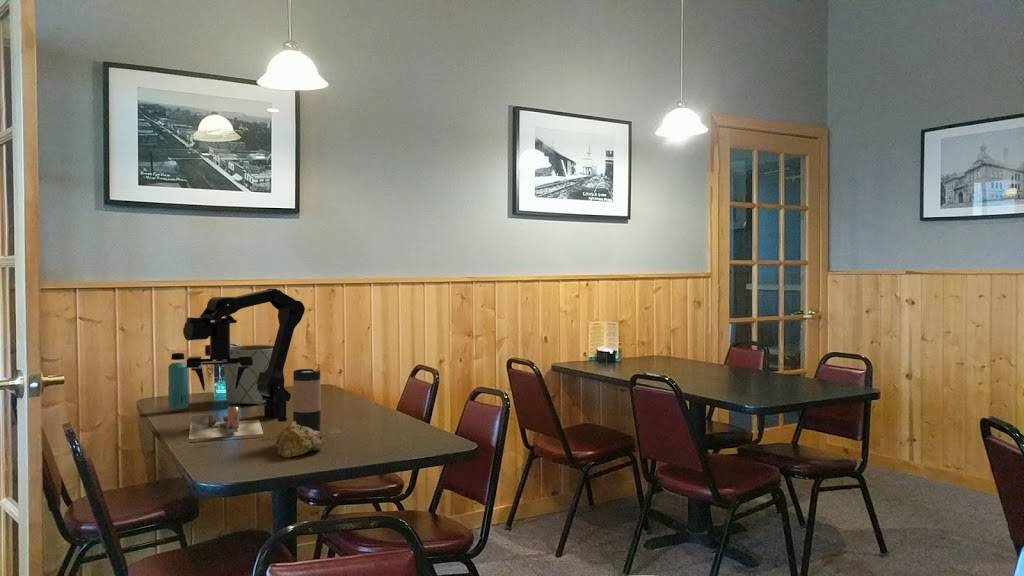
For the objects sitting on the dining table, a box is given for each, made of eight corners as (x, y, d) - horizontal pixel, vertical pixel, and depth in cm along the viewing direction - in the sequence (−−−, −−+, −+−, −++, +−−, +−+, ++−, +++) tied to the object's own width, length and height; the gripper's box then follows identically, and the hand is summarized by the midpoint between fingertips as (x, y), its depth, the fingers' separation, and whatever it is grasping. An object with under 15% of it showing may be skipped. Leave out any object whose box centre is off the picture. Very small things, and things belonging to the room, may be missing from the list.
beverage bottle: (181, 413, 262) (181, 354, 261) (163, 412, 263) (163, 353, 263) (192, 410, 268) (192, 352, 268) (175, 409, 270) (175, 351, 269)
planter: (235, 397, 296) (235, 344, 295) (285, 397, 295) (285, 345, 294) (214, 406, 277) (214, 350, 276) (267, 406, 276) (267, 350, 275)
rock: (311, 468, 211) (327, 434, 214) (312, 470, 203) (329, 434, 206) (270, 451, 209) (287, 416, 212) (270, 452, 201) (287, 416, 204)
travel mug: (293, 443, 219) (293, 372, 219) (293, 438, 226) (293, 369, 226) (321, 442, 221) (321, 372, 221) (320, 436, 228) (320, 368, 228)
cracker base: (259, 423, 247) (259, 407, 247) (263, 437, 226) (263, 420, 226) (190, 427, 239) (190, 410, 239) (188, 443, 219) (188, 424, 219)
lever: (220, 420, 241) (220, 397, 241) (230, 419, 242) (230, 396, 242) (228, 433, 222) (228, 408, 222) (239, 432, 223) (239, 407, 223)
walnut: (216, 425, 238) (216, 413, 238) (216, 427, 235) (216, 415, 234) (203, 425, 237) (203, 414, 237) (203, 428, 233) (203, 416, 233)
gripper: (251, 335, 249) (251, 384, 249) (187, 336, 242) (187, 387, 243) (252, 338, 239) (252, 389, 239) (186, 340, 232) (186, 392, 232)
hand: (220, 389), depth 238 cm, fingers open, 9 cm apart
